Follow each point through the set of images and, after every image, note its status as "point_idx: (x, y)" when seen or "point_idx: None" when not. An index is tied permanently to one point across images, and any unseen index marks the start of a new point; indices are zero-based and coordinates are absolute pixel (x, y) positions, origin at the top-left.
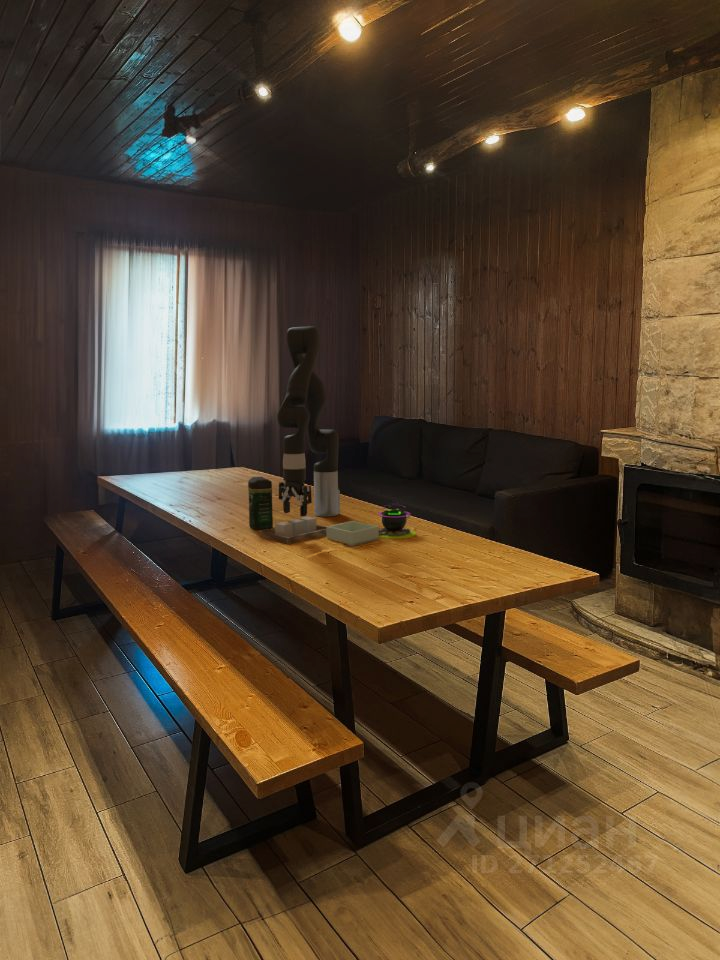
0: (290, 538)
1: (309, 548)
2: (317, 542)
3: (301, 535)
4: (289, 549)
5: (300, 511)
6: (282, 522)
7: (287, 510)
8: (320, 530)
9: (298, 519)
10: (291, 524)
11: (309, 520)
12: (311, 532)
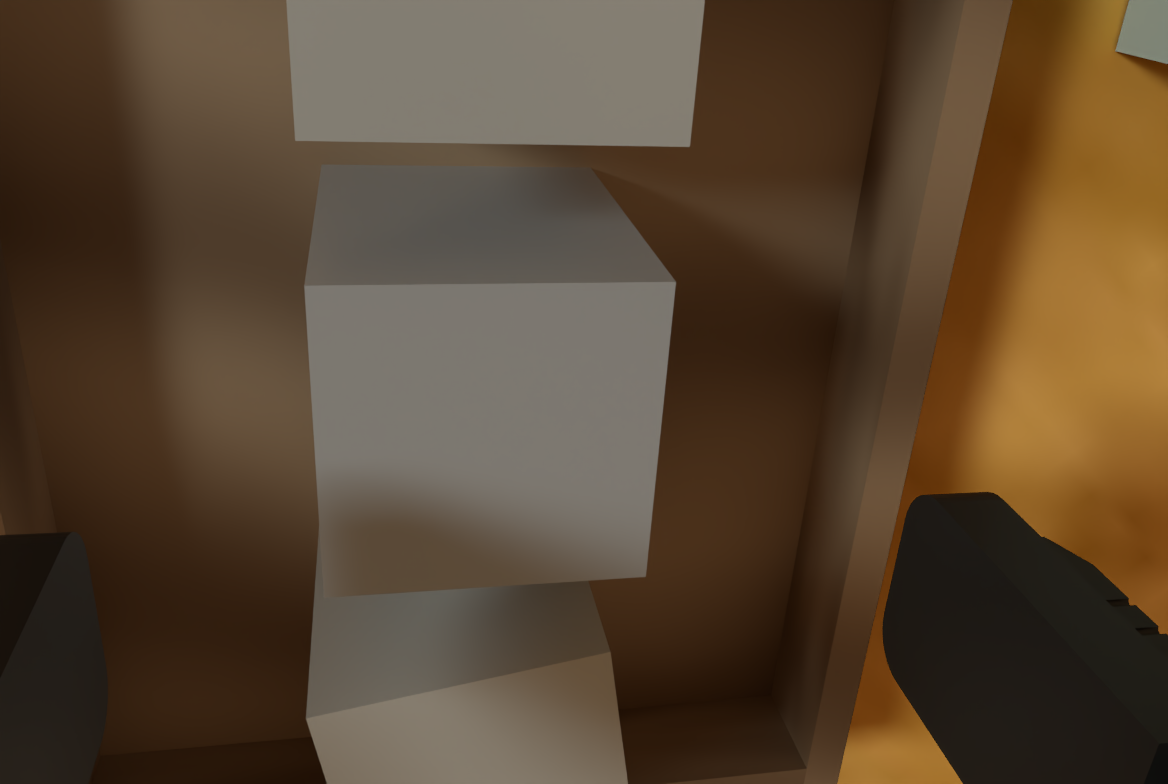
0: (838, 738)
1: (1122, 577)
2: (1046, 280)
3: (884, 536)
4: (918, 766)
5: (963, 765)
6: (380, 759)
7: (73, 677)
8: (1006, 17)
9: (410, 287)
10: (605, 642)
11: (687, 53)
12: (940, 296)
